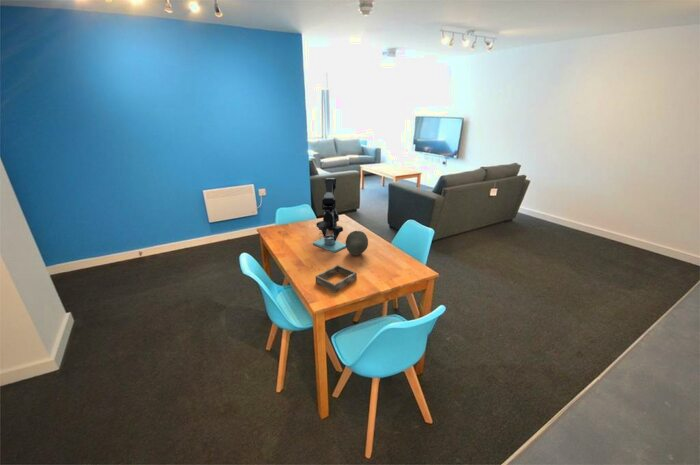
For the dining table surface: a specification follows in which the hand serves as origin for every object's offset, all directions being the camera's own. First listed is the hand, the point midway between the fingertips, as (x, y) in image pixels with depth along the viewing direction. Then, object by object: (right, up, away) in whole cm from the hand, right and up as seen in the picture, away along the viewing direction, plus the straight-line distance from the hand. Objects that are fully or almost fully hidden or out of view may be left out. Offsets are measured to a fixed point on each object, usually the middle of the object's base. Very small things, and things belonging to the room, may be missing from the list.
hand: (329, 239), depth 195 cm
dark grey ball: (+17, -9, -11) cm, 23 cm away
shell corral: (+6, -21, -40) cm, 45 cm away
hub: (0, -3, +1) cm, 3 cm away
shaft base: (0, -4, +2) cm, 4 cm away
